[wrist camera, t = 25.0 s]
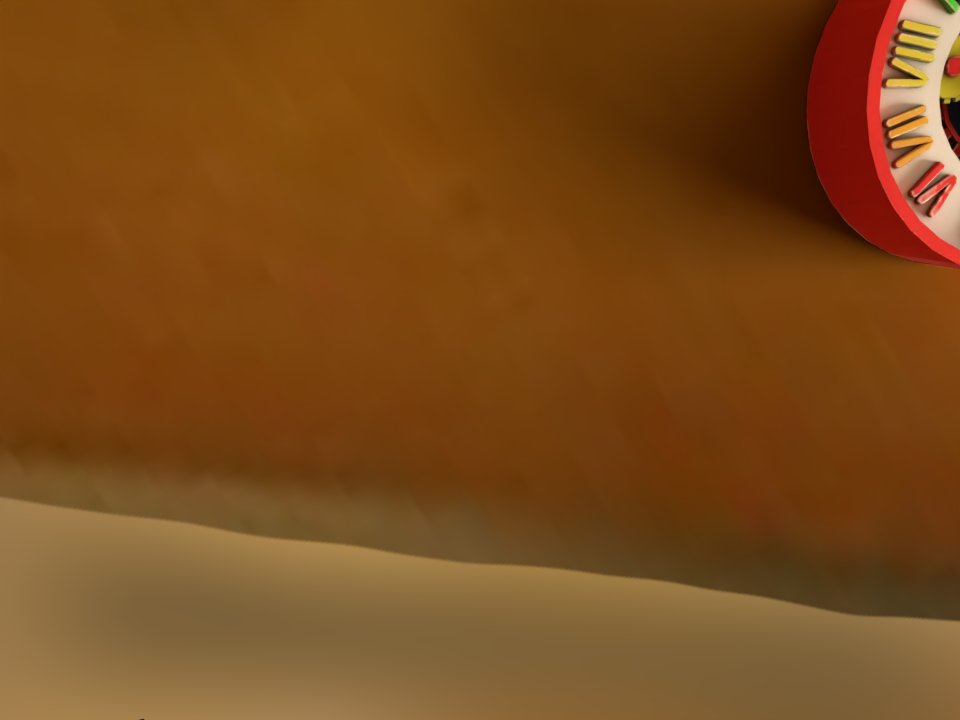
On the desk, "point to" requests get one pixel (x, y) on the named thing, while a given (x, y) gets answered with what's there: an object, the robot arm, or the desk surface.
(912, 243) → the toy clock
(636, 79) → the desk surface
